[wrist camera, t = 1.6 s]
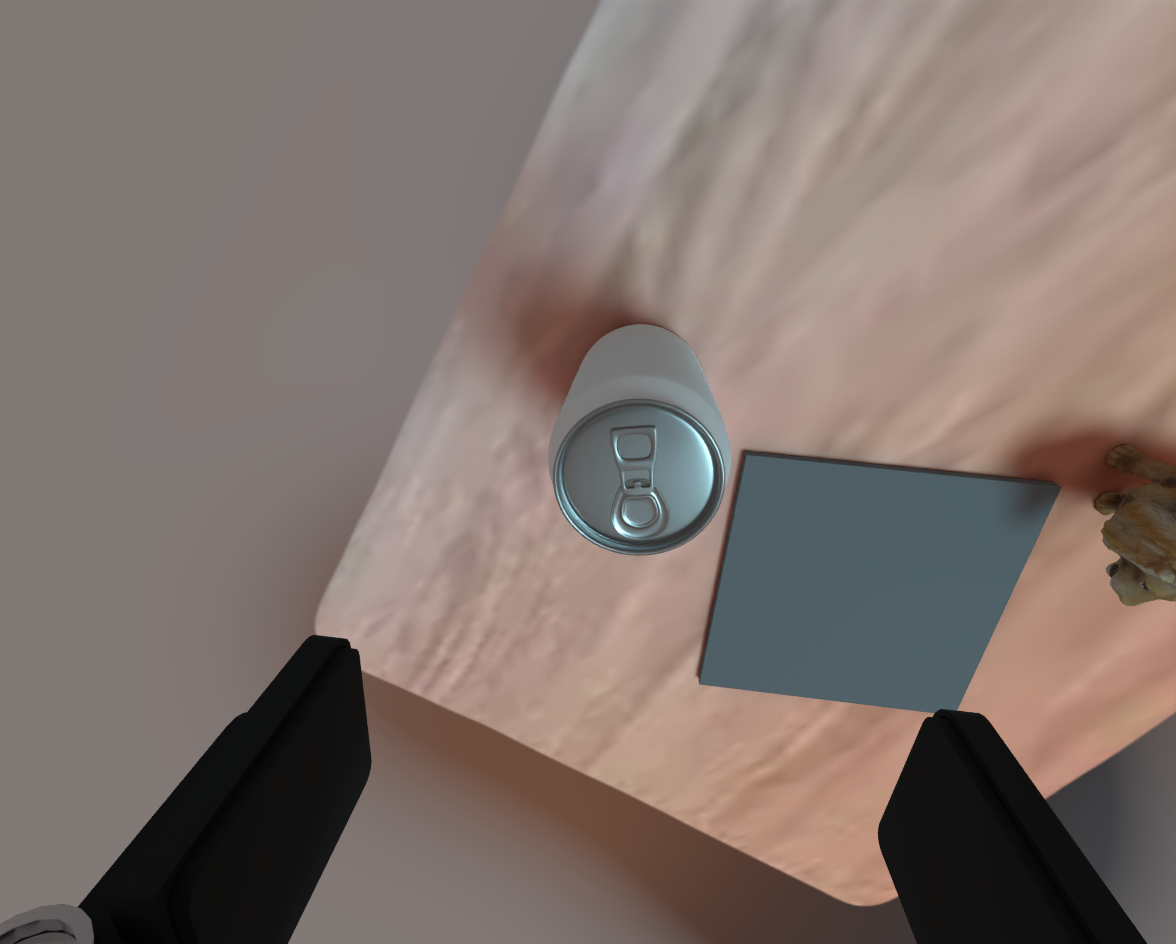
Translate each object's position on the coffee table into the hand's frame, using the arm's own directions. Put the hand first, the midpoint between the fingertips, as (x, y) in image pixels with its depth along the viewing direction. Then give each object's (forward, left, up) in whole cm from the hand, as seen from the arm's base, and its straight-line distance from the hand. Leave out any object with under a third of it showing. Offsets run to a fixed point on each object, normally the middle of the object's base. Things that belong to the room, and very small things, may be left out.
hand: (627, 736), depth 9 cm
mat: (+11, +14, -22) cm, 28 cm away
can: (0, 0, -22) cm, 22 cm away
